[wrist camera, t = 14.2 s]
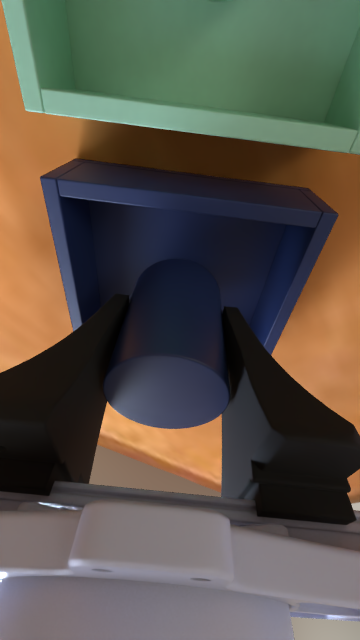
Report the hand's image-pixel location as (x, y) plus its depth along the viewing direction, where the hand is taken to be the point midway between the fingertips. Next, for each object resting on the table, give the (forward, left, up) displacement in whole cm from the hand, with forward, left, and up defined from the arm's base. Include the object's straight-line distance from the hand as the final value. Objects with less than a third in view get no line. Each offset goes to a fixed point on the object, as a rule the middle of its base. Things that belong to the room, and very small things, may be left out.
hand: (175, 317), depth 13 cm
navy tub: (0, 0, -4) cm, 4 cm away
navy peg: (0, 0, -2) cm, 2 cm away
